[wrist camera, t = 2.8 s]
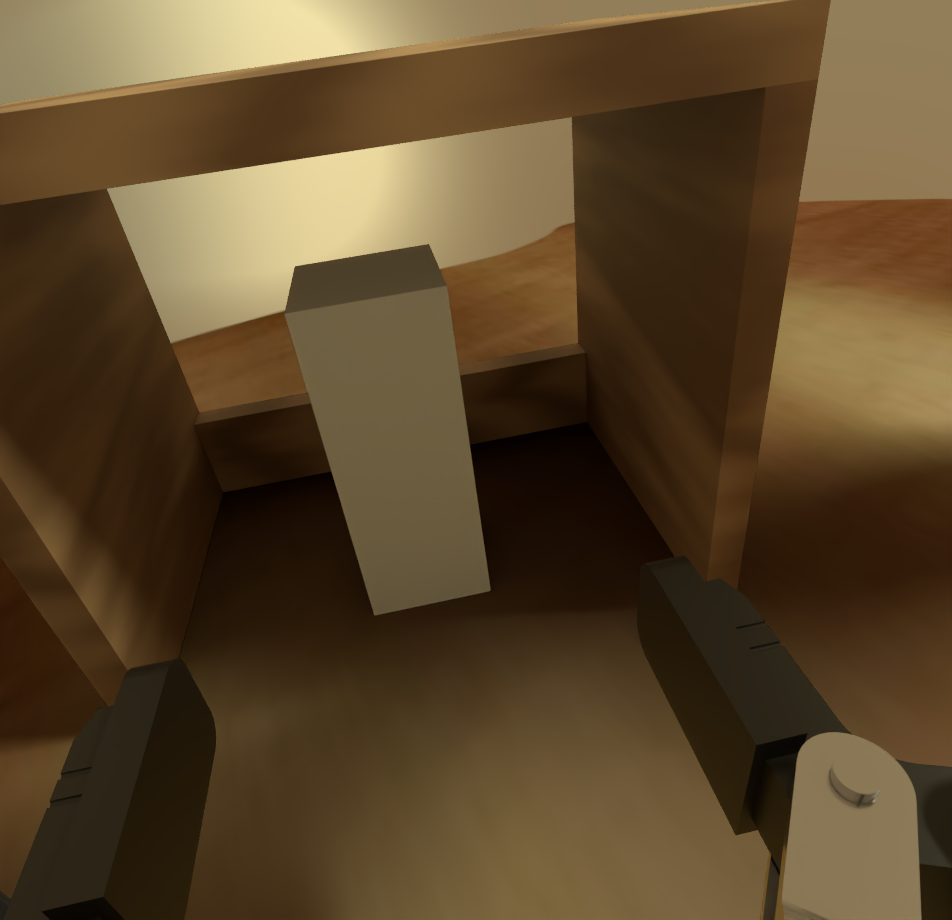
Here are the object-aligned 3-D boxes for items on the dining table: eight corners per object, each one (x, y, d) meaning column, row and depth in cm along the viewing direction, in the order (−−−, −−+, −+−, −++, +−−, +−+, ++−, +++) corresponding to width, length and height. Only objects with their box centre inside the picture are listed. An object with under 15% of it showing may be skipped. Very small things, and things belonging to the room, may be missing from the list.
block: (471, 518, 28) (428, 244, 21) (490, 591, 24) (446, 286, 18) (370, 539, 28) (294, 266, 21) (374, 615, 24) (284, 313, 17)
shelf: (601, 407, 35) (598, 18, 25) (736, 595, 23) (831, -6, 13) (203, 483, 33) (33, 99, 23) (124, 730, 21) (-290, 154, 11)
